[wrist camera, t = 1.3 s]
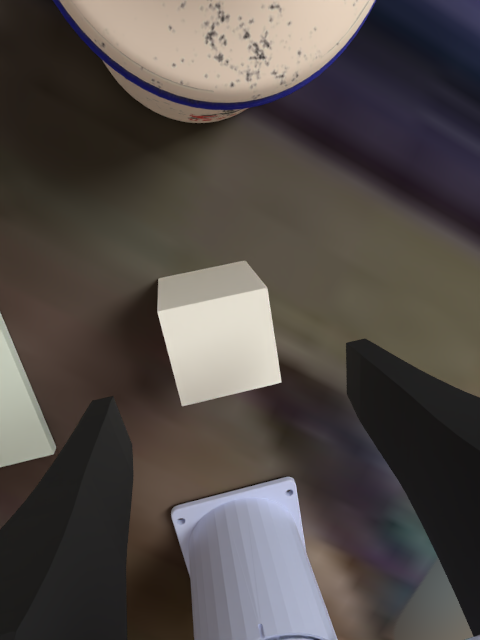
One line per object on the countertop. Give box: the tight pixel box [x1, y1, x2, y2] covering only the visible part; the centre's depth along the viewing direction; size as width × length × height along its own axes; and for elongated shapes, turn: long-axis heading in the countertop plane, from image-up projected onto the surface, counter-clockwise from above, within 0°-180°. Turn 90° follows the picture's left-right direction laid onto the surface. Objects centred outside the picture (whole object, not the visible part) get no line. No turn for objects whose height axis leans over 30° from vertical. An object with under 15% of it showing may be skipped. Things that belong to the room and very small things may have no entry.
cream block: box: [157, 261, 281, 406], centre depth 20 cm, size 4×4×5 cm
